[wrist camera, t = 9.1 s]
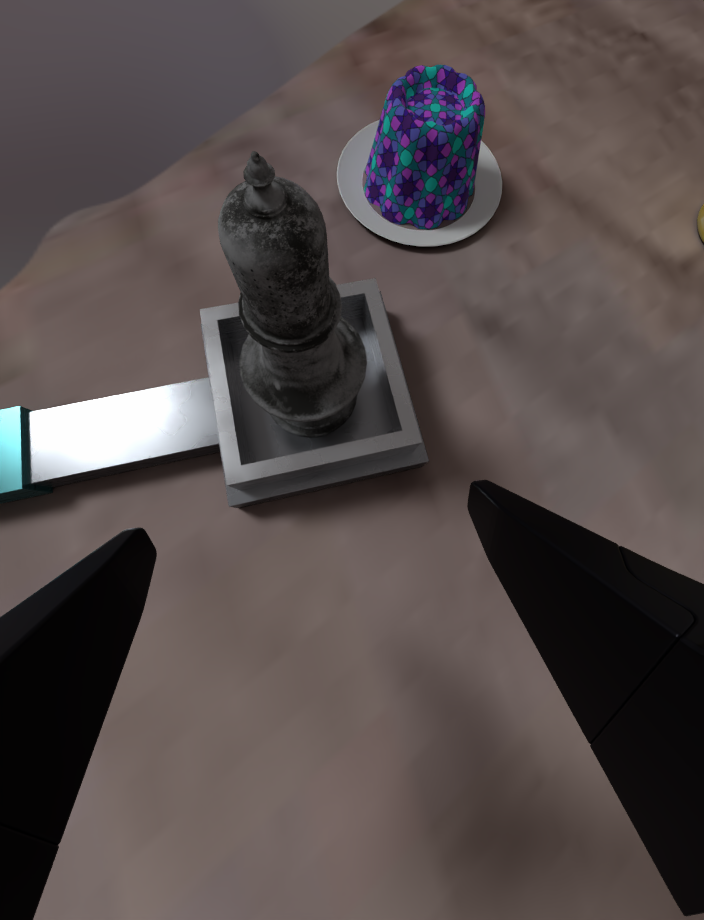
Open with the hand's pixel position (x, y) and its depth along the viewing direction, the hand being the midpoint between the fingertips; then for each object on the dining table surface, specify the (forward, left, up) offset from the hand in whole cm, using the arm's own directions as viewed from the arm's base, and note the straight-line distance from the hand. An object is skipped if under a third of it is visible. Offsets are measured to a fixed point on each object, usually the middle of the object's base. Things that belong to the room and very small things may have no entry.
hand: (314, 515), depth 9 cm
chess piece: (+7, -1, -8) cm, 11 cm away
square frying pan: (+7, +8, -10) cm, 15 cm away
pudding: (+22, -12, -10) cm, 27 cm away
